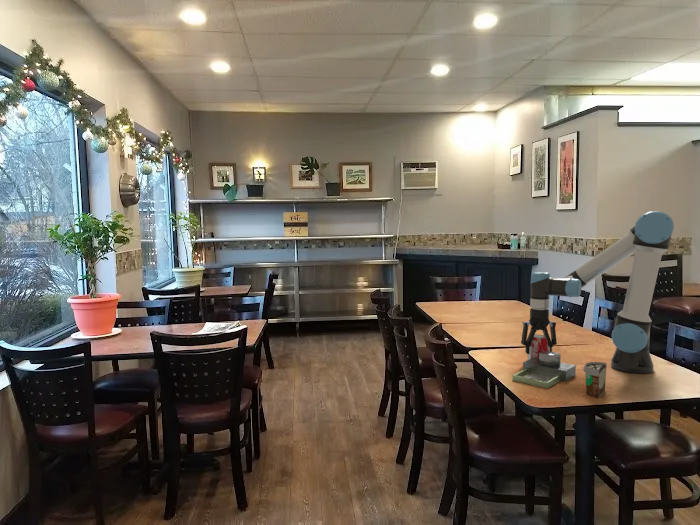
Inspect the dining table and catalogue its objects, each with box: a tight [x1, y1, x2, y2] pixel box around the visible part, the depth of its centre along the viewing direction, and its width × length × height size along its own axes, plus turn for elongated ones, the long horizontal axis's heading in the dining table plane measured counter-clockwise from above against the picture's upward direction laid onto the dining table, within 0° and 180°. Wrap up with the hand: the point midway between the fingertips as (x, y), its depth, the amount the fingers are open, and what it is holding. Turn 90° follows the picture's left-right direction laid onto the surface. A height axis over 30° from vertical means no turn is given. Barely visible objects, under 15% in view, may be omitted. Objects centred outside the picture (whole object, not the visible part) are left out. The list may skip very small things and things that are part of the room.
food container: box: [582, 361, 608, 399], centre depth 170 cm, size 12×6×10 cm, turn 141°
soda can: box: [530, 334, 548, 358], centre depth 206 cm, size 7×7×12 cm
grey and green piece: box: [511, 350, 577, 389], centre depth 188 cm, size 17×23×8 cm
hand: (538, 360), depth 207 cm, fingers closed on soda can, 7 cm apart
